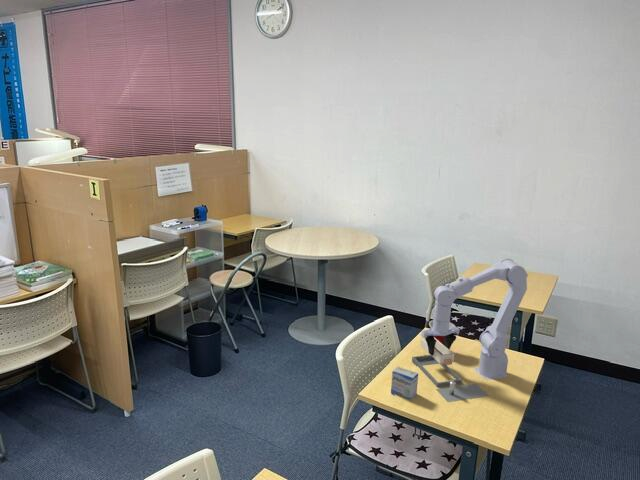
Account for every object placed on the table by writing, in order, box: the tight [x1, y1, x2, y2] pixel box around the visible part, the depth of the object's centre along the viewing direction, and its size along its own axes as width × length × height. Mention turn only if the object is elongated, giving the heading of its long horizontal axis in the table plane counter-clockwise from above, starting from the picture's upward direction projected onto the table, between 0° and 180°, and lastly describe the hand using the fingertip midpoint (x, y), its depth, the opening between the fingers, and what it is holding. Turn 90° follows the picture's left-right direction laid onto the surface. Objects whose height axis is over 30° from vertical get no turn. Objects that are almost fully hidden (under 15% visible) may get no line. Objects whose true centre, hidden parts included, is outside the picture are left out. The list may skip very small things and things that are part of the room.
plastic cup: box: [428, 319, 456, 355], centre depth 191 cm, size 11×11×12 cm
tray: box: [411, 354, 463, 388], centre depth 176 cm, size 10×20×2 cm, turn 15°
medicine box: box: [390, 366, 419, 400], centre depth 161 cm, size 8×4×9 cm, turn 55°
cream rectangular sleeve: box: [420, 338, 455, 366], centre depth 174 cm, size 16×6×3 cm, turn 17°
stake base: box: [435, 378, 490, 403], centre depth 162 cm, size 16×8×6 cm, turn 105°
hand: (438, 353), depth 173 cm, fingers closed on cream rectangular sleeve, 6 cm apart
